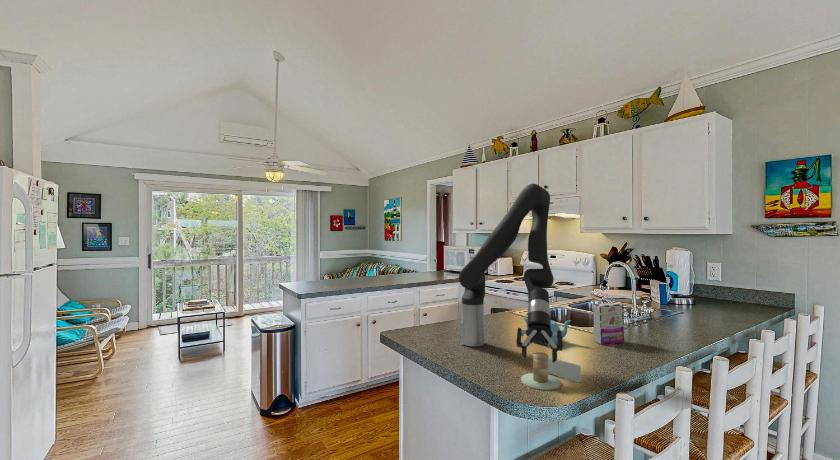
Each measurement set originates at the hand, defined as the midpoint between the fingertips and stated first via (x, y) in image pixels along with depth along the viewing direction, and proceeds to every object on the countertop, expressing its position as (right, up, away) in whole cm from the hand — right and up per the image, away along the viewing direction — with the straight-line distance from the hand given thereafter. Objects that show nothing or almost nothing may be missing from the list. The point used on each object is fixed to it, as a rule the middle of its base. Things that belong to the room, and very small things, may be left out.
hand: (539, 360), depth 117 cm
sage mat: (+1, -7, 0) cm, 7 cm away
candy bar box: (+42, -7, +41) cm, 59 cm away
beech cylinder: (+1, -6, 0) cm, 6 cm away
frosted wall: (+8, -7, +6) cm, 12 cm away
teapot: (+17, -7, +44) cm, 48 cm away
